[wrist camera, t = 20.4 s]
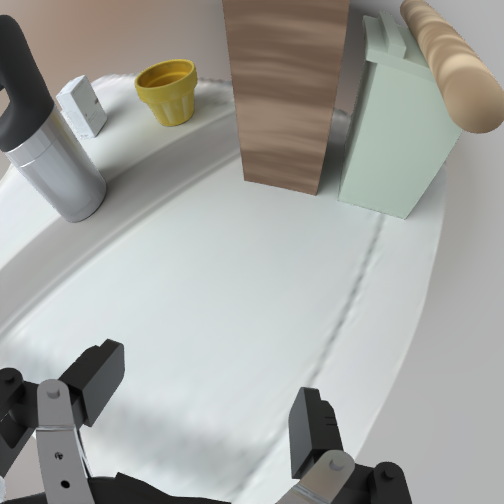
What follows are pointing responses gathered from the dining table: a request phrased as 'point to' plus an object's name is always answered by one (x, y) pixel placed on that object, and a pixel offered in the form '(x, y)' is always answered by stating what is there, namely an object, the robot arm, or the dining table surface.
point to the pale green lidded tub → (394, 124)
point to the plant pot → (169, 90)
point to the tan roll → (456, 70)
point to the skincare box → (82, 107)
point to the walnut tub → (285, 85)
